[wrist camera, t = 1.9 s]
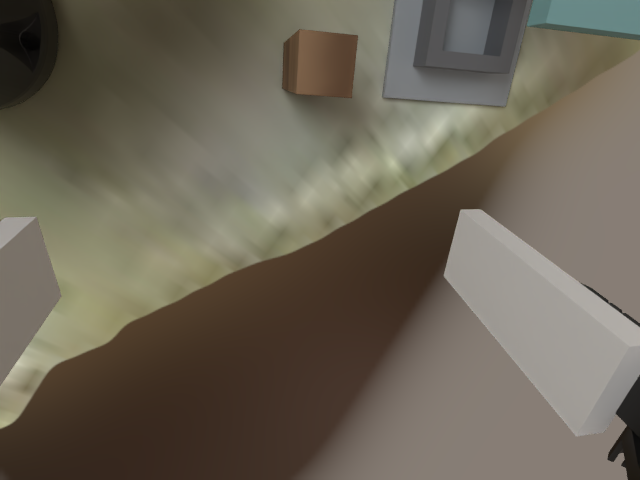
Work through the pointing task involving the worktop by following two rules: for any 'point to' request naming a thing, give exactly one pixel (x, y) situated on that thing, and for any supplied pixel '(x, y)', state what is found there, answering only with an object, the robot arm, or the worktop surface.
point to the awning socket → (483, 43)
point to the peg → (319, 63)
